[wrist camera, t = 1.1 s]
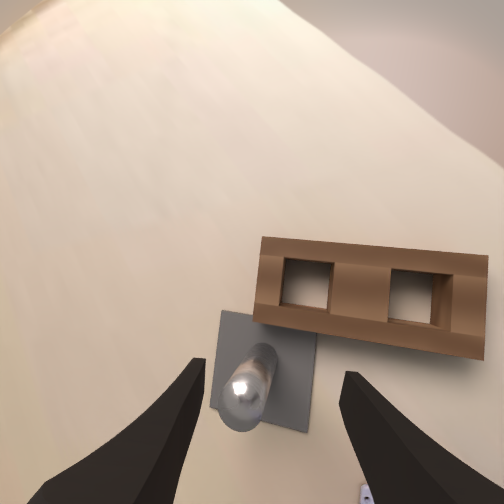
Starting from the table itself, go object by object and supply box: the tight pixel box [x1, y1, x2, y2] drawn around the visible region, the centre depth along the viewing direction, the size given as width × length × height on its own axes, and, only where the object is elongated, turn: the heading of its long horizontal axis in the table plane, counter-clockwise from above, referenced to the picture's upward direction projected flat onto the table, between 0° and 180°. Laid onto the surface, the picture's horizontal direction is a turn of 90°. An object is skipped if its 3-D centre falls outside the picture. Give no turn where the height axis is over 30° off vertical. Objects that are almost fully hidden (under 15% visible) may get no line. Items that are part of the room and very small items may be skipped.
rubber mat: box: [210, 310, 317, 433], centre depth 24 cm, size 10×10×1 cm
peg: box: [217, 343, 278, 432], centre depth 19 cm, size 3×3×9 cm
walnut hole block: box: [252, 236, 488, 361], centre depth 21 cm, size 8×18×3 cm, turn 83°
